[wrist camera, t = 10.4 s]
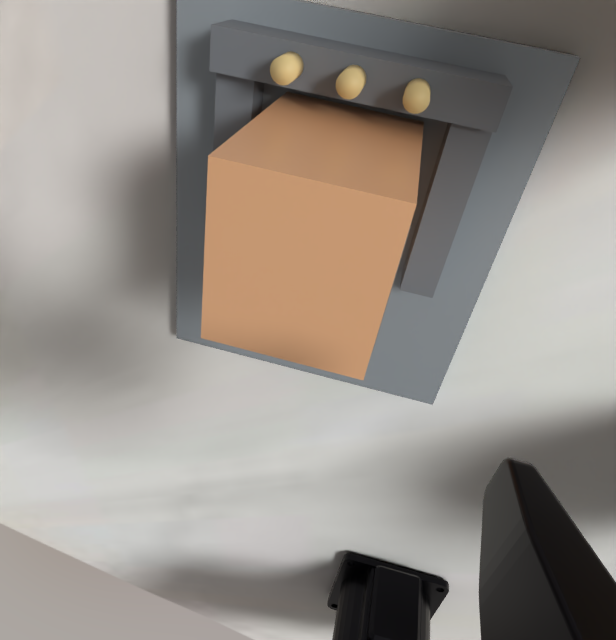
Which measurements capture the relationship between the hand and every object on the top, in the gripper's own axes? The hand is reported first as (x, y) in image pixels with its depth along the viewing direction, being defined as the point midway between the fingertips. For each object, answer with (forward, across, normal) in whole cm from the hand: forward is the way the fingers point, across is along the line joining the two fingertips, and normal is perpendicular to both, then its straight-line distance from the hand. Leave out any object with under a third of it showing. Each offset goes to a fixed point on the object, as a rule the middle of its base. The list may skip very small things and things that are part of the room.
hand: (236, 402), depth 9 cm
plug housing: (+11, 0, 0) cm, 11 cm away
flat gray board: (+12, 0, +2) cm, 12 cm away
